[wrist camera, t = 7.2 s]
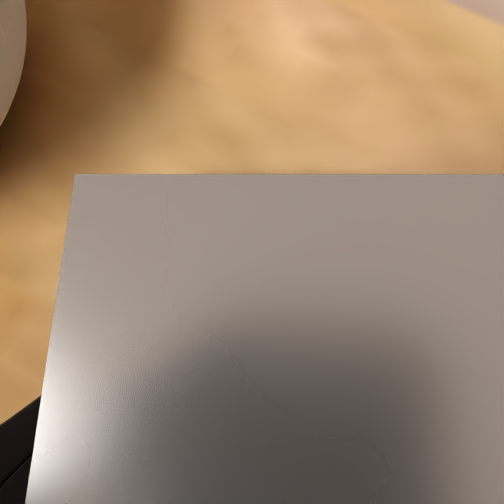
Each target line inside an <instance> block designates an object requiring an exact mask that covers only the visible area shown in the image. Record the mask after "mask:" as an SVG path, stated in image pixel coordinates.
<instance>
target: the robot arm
mask: <svg viewBox="0 0 504 504" xmlns="http://www.w3.org/2000/svg"><path fill="white" fill-rule="evenodd" d="M40 402H41V396H39V397H38V398H37V399H35V400H34V401H33V402H31V403H30V404H29V405H27V406H26V407H25V408H23V409H22V410H20V411H19V412H18V413H16V414H15V415H14V416H12V417H11V418H10V419H8V420H7V421H5V422H4V423H2V424H1V425H0V504H25V501H26V495H27V488H28V482H29V475H30V468H31V462H32V455H33V448H34V442H35V435H36V428H37V422H38V415H39V409H40Z"/></svg>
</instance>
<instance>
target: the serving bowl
mask: <svg viewBox="0 0 504 504" xmlns="http://www.w3.org/2000/svg"><path fill="white" fill-rule="evenodd" d="M26 40H27V17H26V6H25V0H0V126H1V124H2V123H3V121H4V119H5V117H6V115H7V113H8V111H9V109H10V106H11V104H12V101H13V99H14V96H15V94H16V91H17V88H18V85H19V81H20V78H21V74H22V69H23V64H24V58H25V51H26Z"/></svg>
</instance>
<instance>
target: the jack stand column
mask: <svg viewBox="0 0 504 504" xmlns="http://www.w3.org/2000/svg"><path fill="white" fill-rule="evenodd" d="M25 504H504V174H75V176H74V183H73V190H72V196H71V203H70V210H69V216H68V223H67V229H66V236H65V243H64V249H63V256H62V263H61V269H60V276H59V283H58V289H57V296H56V302H55V309H54V316H53V322H52V329H51V336H50V342H49V349H48V355H47V362H46V369H45V375H44V382H43V389H42V395H41V402H40V409H39V415H38V422H37V428H36V435H35V442H34V448H33V455H32V462H31V468H30V475H29V482H28V488H27V495H26V501H25Z"/></svg>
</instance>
